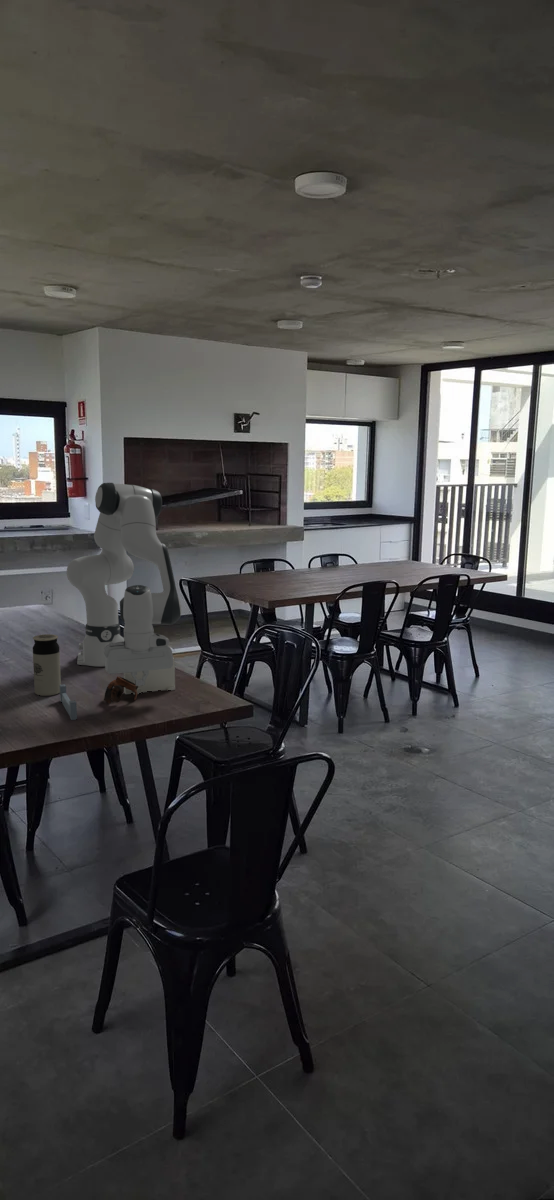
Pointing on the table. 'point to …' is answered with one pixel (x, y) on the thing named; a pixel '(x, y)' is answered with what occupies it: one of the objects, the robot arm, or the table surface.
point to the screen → (154, 680)
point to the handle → (68, 703)
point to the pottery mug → (118, 689)
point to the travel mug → (46, 665)
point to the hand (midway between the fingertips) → (140, 685)
